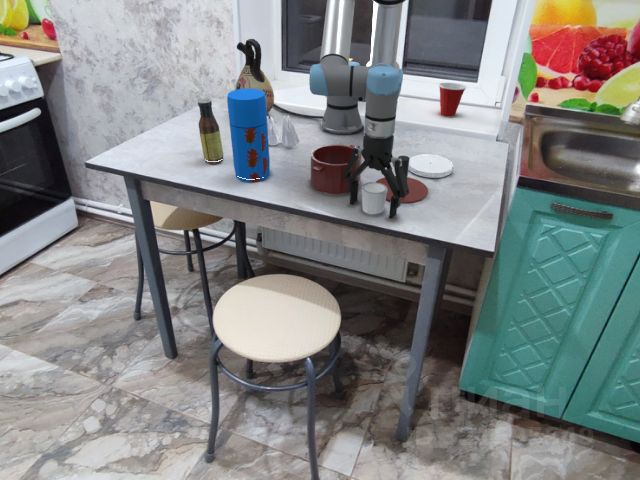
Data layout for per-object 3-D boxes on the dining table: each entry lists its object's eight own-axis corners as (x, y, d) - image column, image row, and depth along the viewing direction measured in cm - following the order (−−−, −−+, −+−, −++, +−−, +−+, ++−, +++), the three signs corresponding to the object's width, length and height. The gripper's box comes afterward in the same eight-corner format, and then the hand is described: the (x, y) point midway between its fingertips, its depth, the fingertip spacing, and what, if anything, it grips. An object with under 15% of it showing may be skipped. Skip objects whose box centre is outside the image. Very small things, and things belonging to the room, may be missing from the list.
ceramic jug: (228, 116, 190) (220, 36, 173) (260, 108, 198) (254, 31, 182) (253, 128, 179) (247, 44, 163) (285, 118, 188) (282, 38, 171)
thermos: (236, 167, 151) (228, 88, 137) (270, 166, 152) (265, 87, 138) (234, 183, 142) (225, 100, 128) (270, 182, 143) (265, 99, 129)
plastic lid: (442, 184, 142) (444, 177, 141) (399, 173, 148) (400, 166, 147) (458, 167, 152) (459, 160, 150) (417, 157, 158) (418, 150, 157)
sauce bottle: (227, 158, 157) (220, 98, 145) (218, 166, 152) (210, 105, 140) (209, 156, 158) (201, 96, 147) (200, 163, 153) (191, 102, 142)
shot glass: (384, 218, 126) (386, 195, 122) (358, 215, 127) (359, 192, 123) (386, 205, 132) (388, 183, 128) (361, 203, 133) (363, 180, 129)
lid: (362, 194, 137) (364, 160, 131) (389, 174, 147) (392, 142, 141) (412, 211, 129) (417, 175, 123) (436, 189, 140) (441, 155, 134)
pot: (295, 189, 139) (294, 160, 134) (333, 166, 152) (334, 138, 147) (337, 204, 132) (338, 173, 127) (373, 178, 145) (375, 149, 140)
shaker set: (300, 146, 165) (299, 115, 159) (295, 150, 162) (294, 119, 156) (270, 140, 169) (268, 110, 163) (264, 145, 166) (262, 114, 160)
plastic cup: (465, 113, 195) (470, 83, 188) (456, 120, 187) (461, 90, 181) (440, 108, 200) (444, 79, 193) (430, 115, 192) (434, 85, 185)
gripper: (330, 127, 120) (328, 202, 132) (416, 150, 109) (405, 230, 121) (346, 119, 125) (343, 192, 137) (430, 140, 114) (418, 217, 126)
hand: (372, 210), depth 129 cm, fingers open, 11 cm apart
